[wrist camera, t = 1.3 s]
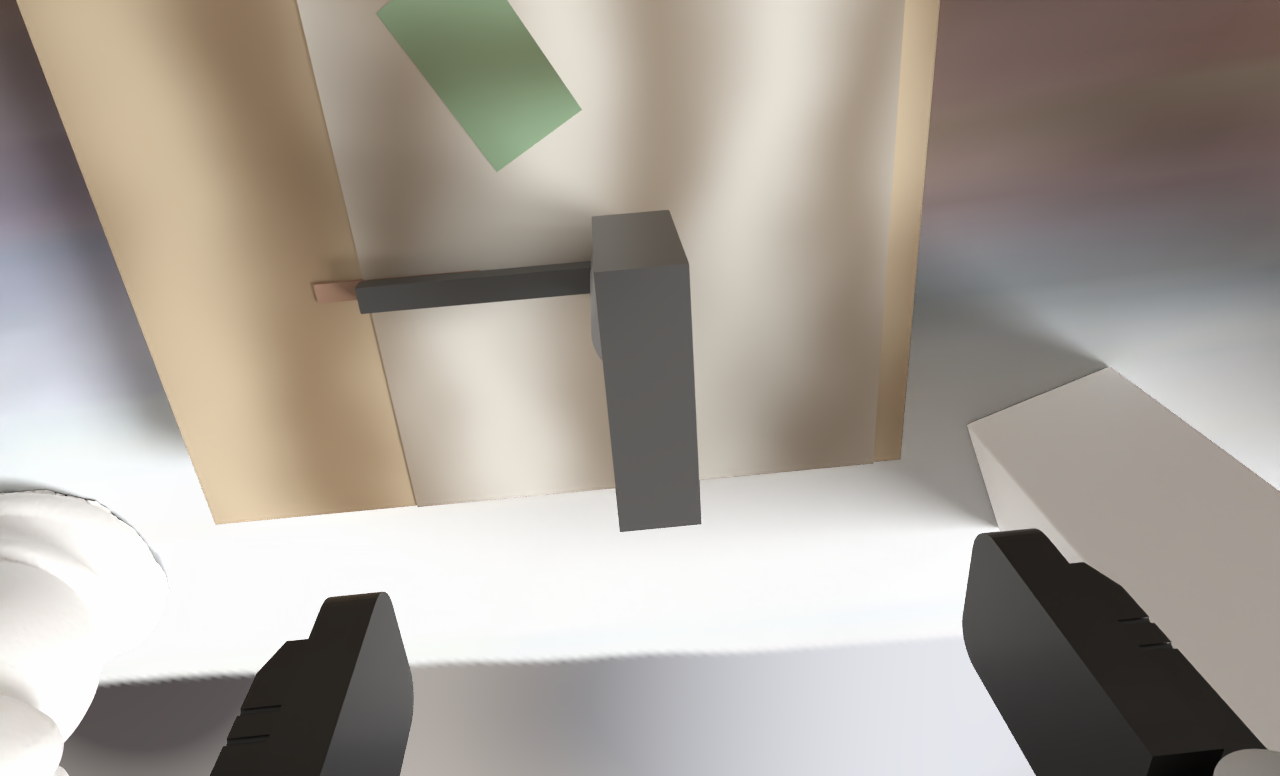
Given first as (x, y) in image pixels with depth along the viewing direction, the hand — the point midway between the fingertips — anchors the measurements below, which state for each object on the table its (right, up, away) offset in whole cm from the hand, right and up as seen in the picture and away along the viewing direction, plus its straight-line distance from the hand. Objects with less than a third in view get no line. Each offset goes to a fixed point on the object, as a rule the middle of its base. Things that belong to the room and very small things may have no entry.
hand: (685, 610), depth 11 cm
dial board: (-4, +9, +17) cm, 20 cm away
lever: (-4, +6, +13) cm, 15 cm away
